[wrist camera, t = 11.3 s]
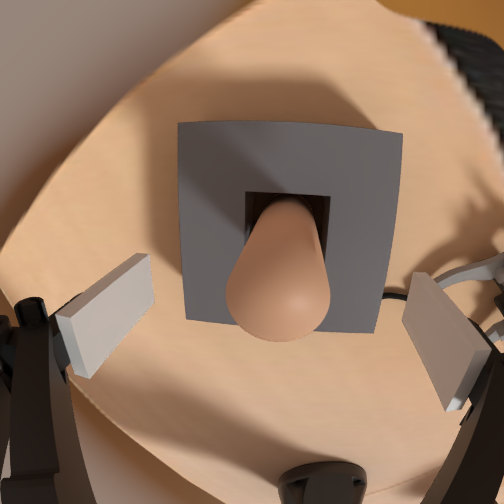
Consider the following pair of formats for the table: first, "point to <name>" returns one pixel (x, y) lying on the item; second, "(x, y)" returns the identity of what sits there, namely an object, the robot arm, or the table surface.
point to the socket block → (295, 182)
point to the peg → (280, 274)
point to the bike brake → (495, 268)
